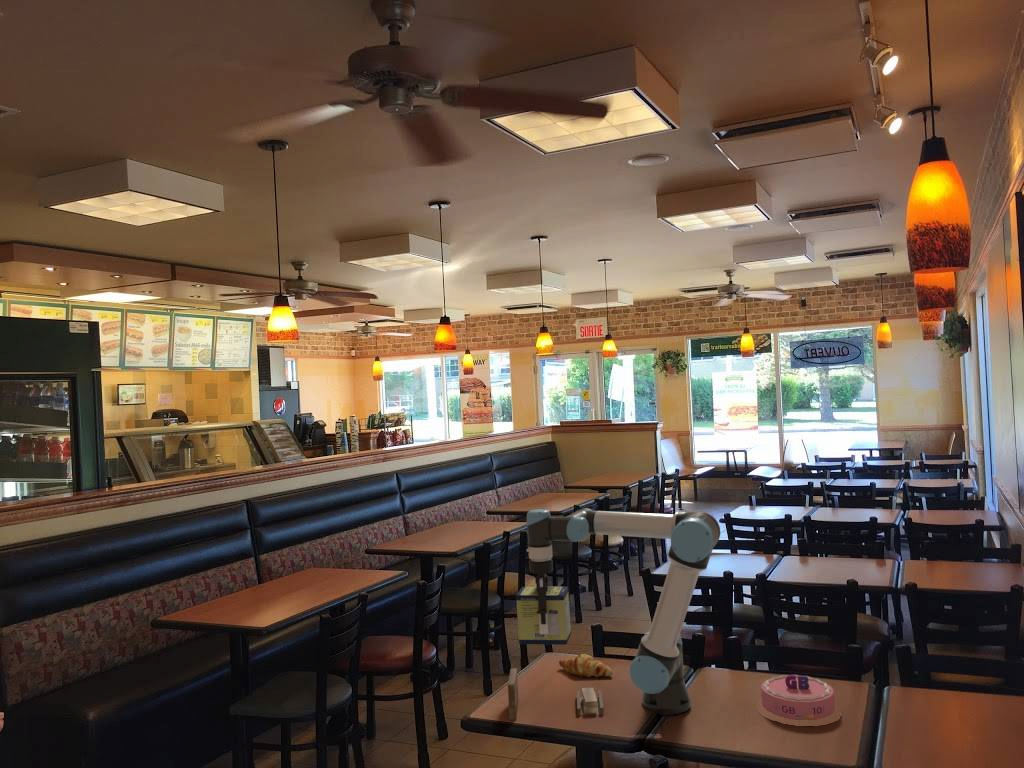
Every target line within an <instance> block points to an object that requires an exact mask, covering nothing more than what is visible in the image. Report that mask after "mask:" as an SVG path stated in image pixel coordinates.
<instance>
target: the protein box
mask: <svg viewBox="0 0 1024 768" xmlns="http://www.w3.org/2000/svg"><path fill="white" fill-rule="evenodd" d="M547 588H548V591H547V592H546V605H547V614H548V632H549V634H540V629H539V614H537V613H536V611H538V610H539V609H538V592H537V588H536V586H522V587H521V588H520V589H519V591H517V593H516V595H515V597H516V599H515V600H516V612H517V613H516V614H517V615H516V617H517V631H518V633H517V634H518V645H553V646H554V645H556V646H557V645H558V646H559V645H561V646H563V645H564V646H566V645H568V642H569V639H571V638H570V637H571V635H572V630H571V629H572V628H571V627H572V626H571V615H570V601H569V600H570V599H569V598H570V597H569V587H568V586H548V587H547ZM543 609H544V608H543Z"/></svg>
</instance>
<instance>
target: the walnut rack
mask: <svg viewBox="0 0 1024 768" xmlns="http://www.w3.org/2000/svg"><path fill="white" fill-rule="evenodd" d="M580 692H581V691H580V690H576V709H577V712H576V713H577V716H598V715H601V716H603V715H604V714H605V713H604V701H603V694H602V693H603V692H602V690H601V689H599V690H598V691H597V692H598V693H597V694H598V695H597V696H596V699H597V705H598V707H597V713H588V714H584V705H583V696H580V695H581V694H580ZM507 693H508V713H509V721H516V720H517V719H518V711H517V710H519V704H518V703H519V702H520V698H519V684H518V668H513V667H512V668H511V667H510V670H509V676H508V681H507Z"/></svg>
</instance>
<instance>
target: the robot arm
mask: <svg viewBox="0 0 1024 768" xmlns="http://www.w3.org/2000/svg"><path fill="white" fill-rule="evenodd" d="M526 513H527V514H526V533H527V545H528V548H527V549H526V553H528V558H529V560H528V566H529V568H528V569H529V570H528V571H529V572H530V573H532V574H537V576H535V585H536V586H535V587H536V588H537V592H538V609H539V610H538V611H536V613H537V614H539V629H540V634H549V632H548V614H547V605H546V592H547V591H548V588H547V587H549V575H547V573H548V574H549V573H551V572H553V571H554V565H553V564H554V562H553V559H552V558H553V544H552V543H553V542H556V541H557V542H573V543H577V542H584V541H587V539H588V536H589V535H605V536H606V535H607V536H618V537H621V536H622V537H637V538H651V539H652V538H653V539H664V540H665V539H666V540H670V547H669V549H668V553H667V557H668V559H669V560H670V563H669V567H668V570H667V573H666V577H665V579H664V584H663V586H662V590H661V593H660V596H659V600H658V603H657V605H656V608H655V612H654V616H653V618H652V622H651V625H650V628H649V631H647V632H645V633H644V635H643V636H642V637H641V640H640V643H639V645H638V648H637V652H636V654H635V657H634V658H633V659H632V660H631V663H630V666H629V667H630V668H629V675H630V676H629V677H630V679H631V681H632V683H633V684H634V686H635V687H636V688H637V689H638V690H640V691H642V697H641V705H642V706H643V707H644V708H645V709H648V710H649V711H652V712H655V713H656V715H659V716H660V715H661V716H675V715H674V714H677V715H679V714H678V713H682V712H685V711H687V710H688V709H689V708H690V707H692V701H691V697H690V696H691V695H690V694H689V691H688V687H687V685H686V683H685V677H684V675H685V674H684V657H683V654H684V653H683V641H682V639H683V638H682V636H681V632H682V628H683V625H684V621H685V619H686V615H687V613H688V610H689V607H690V603H691V600H692V597H693V594H694V590H695V589H696V584H697V581H698V578H699V575H700V573H701V572H703V571H705V570H707V569H708V566H709V565H708V564H709V562H710V559H711V556H712V552H713V550H714V547H715V546H716V545H717V544H718V542H719V540H720V538H721V527H720V524H719V522H718V521H717V519H716V518H715V517H714V516H713V515H711V514H710V513H708V512H705V511H680V510H679V511H676V512H675V513H674V514H673V513H672V514H669V513H667V514H666V513H650V512H649V513H648V512H647V513H645V512H629V511H628V512H627V511H626V512H625V511H624V512H623V511H607V510H593V509H591V508H588V507H587V508H586V507H585V508H580V509H577V510H576V511H575V512H573V513H570V514H569V515H566V516H552V515H551V511H550V510H549V509H544V508H540V509H539V508H537V509H531V510H529V511H527V512H526ZM543 608H544V609H543ZM690 709H691V708H690ZM690 709H689V710H690ZM689 710H688V711H689ZM688 711H687V712H688ZM685 713H686V712H685ZM682 714H683V713H682Z"/></svg>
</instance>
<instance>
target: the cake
mask: <svg viewBox="0 0 1024 768" xmlns="http://www.w3.org/2000/svg"><path fill="white" fill-rule="evenodd" d="M760 686H761V687H760V690H761V691H760V692H761V693H760V694H761V695H760V696H761V697H760V698H762V706H763V707H764V708H765V709H766V710H767V711H769V712H771V713H773V714H775V715H777V716H780V717H784V718H788V719H792V720H793V719H794V720H817V719H821V718H825V717H827V716H830V715H831V714H832V713H833V712H834V711H835V703H836V699H835V691H834V688H833V687H832V686H831V685H829V684H828V683H827V682H825V681H823V680H820V679H819V678H816V677H812V676H809V675H800V674H781V675H777V676H776V675H775V676H772V677H771V678H768V679H766V680H764V681H763V682H762V684H761V685H760Z"/></svg>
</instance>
